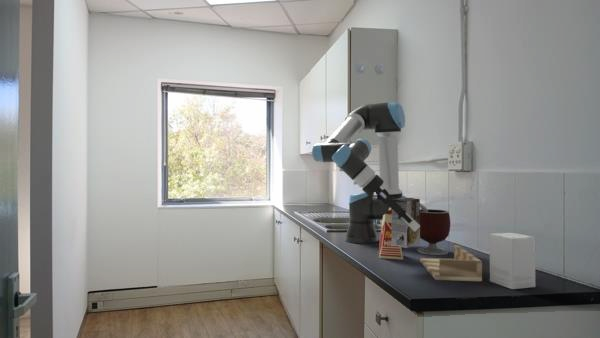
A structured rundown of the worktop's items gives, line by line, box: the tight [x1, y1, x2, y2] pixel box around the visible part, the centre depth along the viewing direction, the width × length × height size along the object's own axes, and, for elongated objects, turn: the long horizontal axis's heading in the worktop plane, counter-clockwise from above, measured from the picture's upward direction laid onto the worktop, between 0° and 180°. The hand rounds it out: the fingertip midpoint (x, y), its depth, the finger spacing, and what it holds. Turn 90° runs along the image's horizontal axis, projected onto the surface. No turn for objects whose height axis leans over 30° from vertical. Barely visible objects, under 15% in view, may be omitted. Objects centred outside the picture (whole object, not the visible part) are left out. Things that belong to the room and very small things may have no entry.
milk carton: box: [378, 207, 404, 260], centre depth 152 cm, size 9×9×20 cm
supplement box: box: [489, 232, 536, 290], centre depth 116 cm, size 9×9×15 cm
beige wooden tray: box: [419, 245, 483, 282], centre depth 131 cm, size 24×14×6 cm, turn 174°
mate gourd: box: [416, 202, 451, 256], centre depth 161 cm, size 16×14×20 cm
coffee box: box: [392, 197, 421, 249], centre depth 134 cm, size 9×6×16 cm
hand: (414, 225), depth 133 cm, fingers closed on coffee box, 10 cm apart
